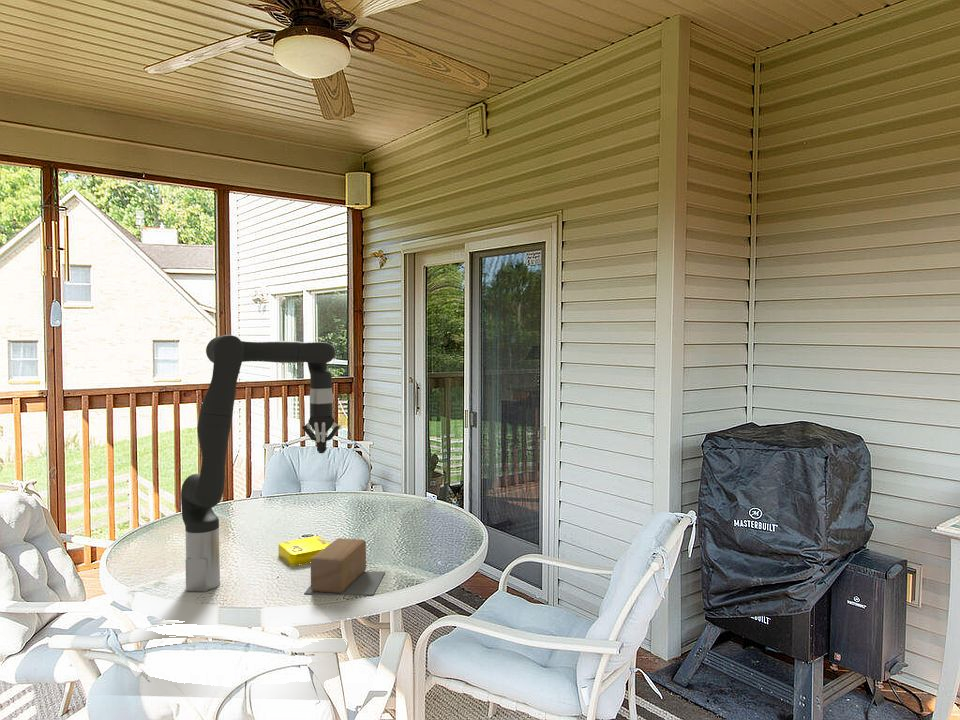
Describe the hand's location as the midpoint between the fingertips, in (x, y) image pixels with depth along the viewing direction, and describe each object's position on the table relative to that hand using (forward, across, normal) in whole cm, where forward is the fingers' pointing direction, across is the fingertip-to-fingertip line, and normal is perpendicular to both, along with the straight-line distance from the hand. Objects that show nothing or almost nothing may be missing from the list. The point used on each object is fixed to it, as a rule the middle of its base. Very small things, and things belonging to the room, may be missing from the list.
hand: (321, 452), depth 222 cm
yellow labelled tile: (+36, -6, 0) cm, 36 cm away
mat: (+35, +14, -24) cm, 45 cm away
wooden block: (+30, +13, -13) cm, 35 cm away
